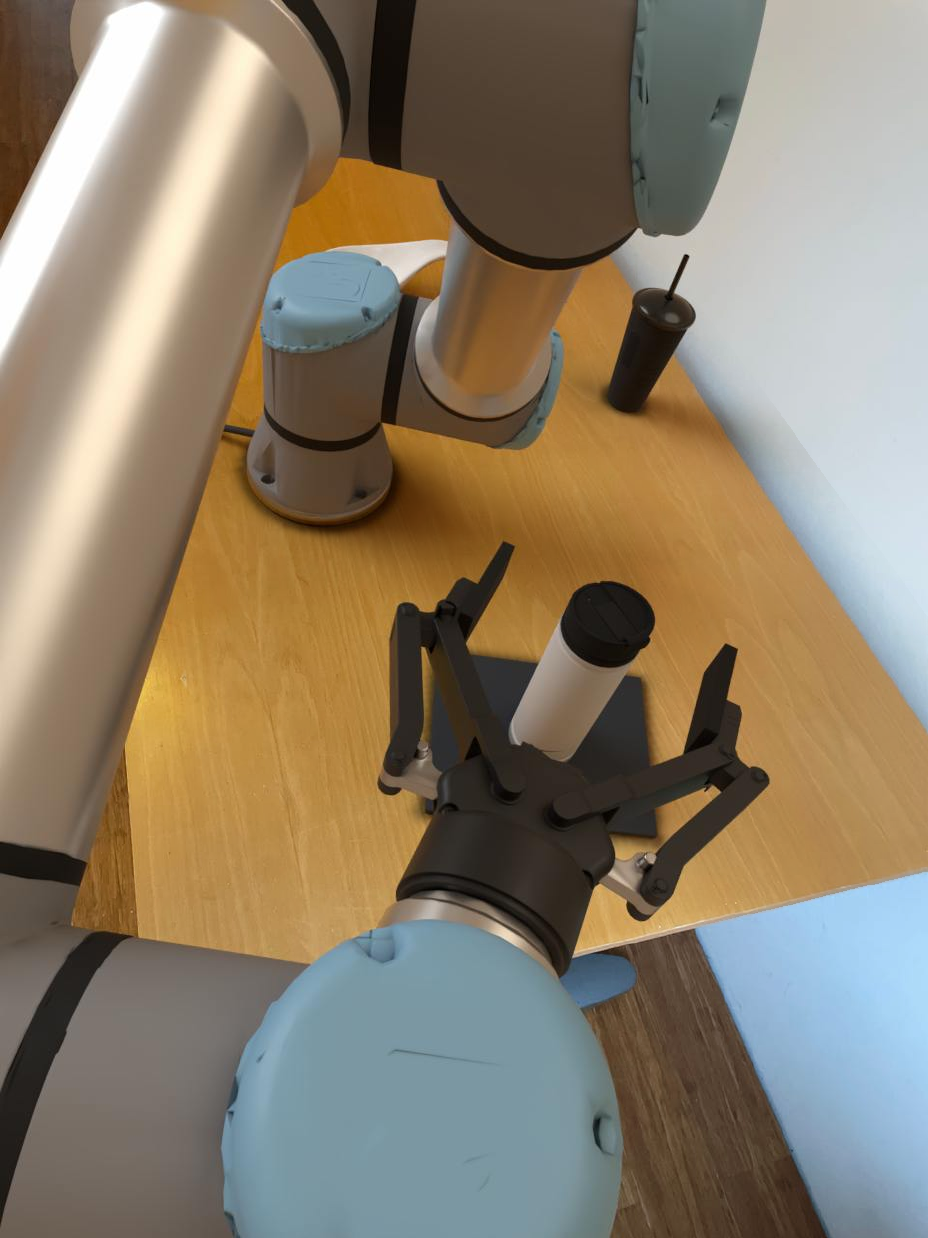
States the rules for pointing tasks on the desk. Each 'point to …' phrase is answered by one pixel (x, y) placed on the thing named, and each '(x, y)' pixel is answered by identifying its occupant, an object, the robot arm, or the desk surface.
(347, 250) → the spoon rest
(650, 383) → the drinking cup
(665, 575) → the desk surface
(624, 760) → the slate mat
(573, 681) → the travel mug
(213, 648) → the desk surface
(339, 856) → the desk surface
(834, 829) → the desk surface
